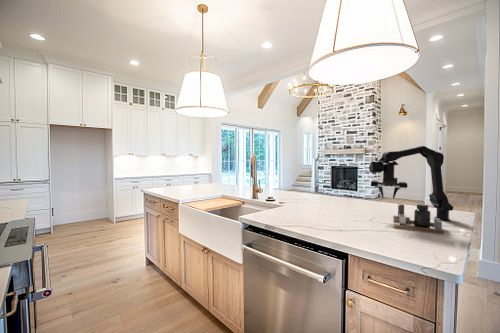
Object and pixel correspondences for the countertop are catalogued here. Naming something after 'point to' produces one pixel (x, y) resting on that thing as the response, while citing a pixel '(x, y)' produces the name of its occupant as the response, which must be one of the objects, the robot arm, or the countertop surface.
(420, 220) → the supplement bottle
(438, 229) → the press base
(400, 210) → the bar
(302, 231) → the countertop surface
